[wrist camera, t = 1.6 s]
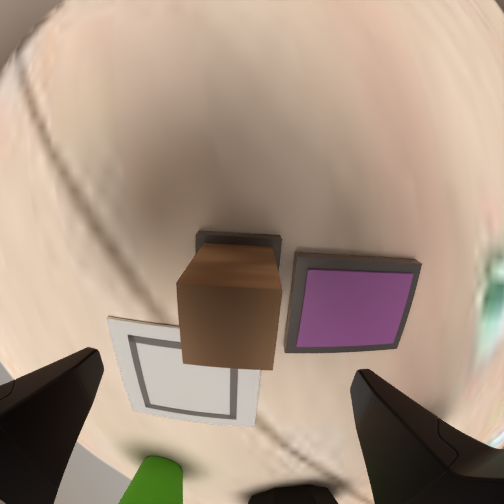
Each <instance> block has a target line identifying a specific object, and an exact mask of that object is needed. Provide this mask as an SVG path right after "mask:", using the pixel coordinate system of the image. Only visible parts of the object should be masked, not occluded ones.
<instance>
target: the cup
mask: <svg viewBox="0 0 504 504" xmlns="http://www.w3.org/2000/svg"><path fill="white" fill-rule="evenodd" d="M119 504H183V472H182V469H181V467H180V466H179V465H178V464H177V463H175V462H173V461H171V460H168V459H166V458H162V457H157V456H149V457H147V458H146V459H145V460H144V461H143V462H142V464H141V466H140V467H139V469H138V471H137V473H136V474H135V476H134V478H133V480H132V481H131V483H130V485H129V486H128V488H127V490H126V492H125V493H124V495H123V497H122V499H121V500H120V502H119Z"/></svg>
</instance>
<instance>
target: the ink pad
mask: <svg viewBox="0 0 504 504" xmlns="http://www.w3.org/2000/svg"><path fill="white" fill-rule="evenodd" d="M421 265H422V263H420V262H419V261H417V260H415V259H404V258H387V257H370V256H353V255H336V254H319V253H302V252H295V256H294V266H293V275H292V283H291V292H290V300H289V308H288V316H287V323H286V331H285V338H284V351H285V353H338V352H359V351H374V350H386V349H397V347H398V344H399V341H400V338H401V336H402V333H403V330H404V327H405V324H406V321H407V317H408V314H409V311H410V308H411V304H412V301H413V297H414V294H415V290H416V286H417V282H418V278H419V274H420V270H421Z"/></svg>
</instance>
